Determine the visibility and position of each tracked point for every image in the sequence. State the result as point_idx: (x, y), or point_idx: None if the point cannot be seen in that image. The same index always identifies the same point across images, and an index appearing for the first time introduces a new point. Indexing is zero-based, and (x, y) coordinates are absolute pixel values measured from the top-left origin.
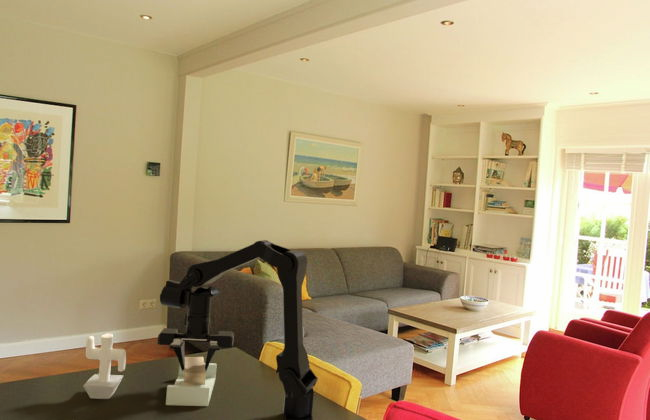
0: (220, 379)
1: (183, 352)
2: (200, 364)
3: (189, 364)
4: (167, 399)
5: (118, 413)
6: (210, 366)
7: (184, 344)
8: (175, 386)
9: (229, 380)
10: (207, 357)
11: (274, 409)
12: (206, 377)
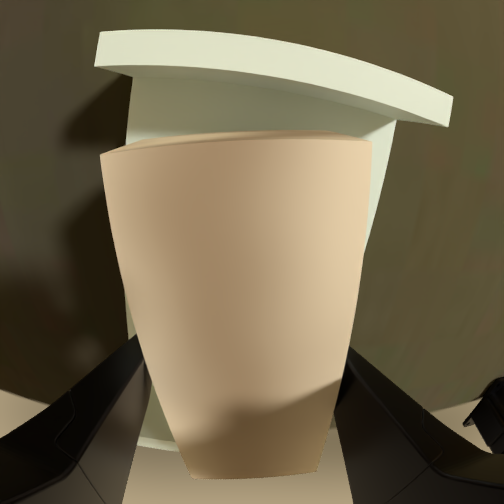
0: None
1: (103, 475)
2: (304, 381)
3: (196, 384)
4: None
5: (33, 397)
6: (398, 109)
7: (43, 498)
8: (159, 446)
9: (455, 126)
10: (358, 500)
11: (477, 383)
12: (340, 111)
